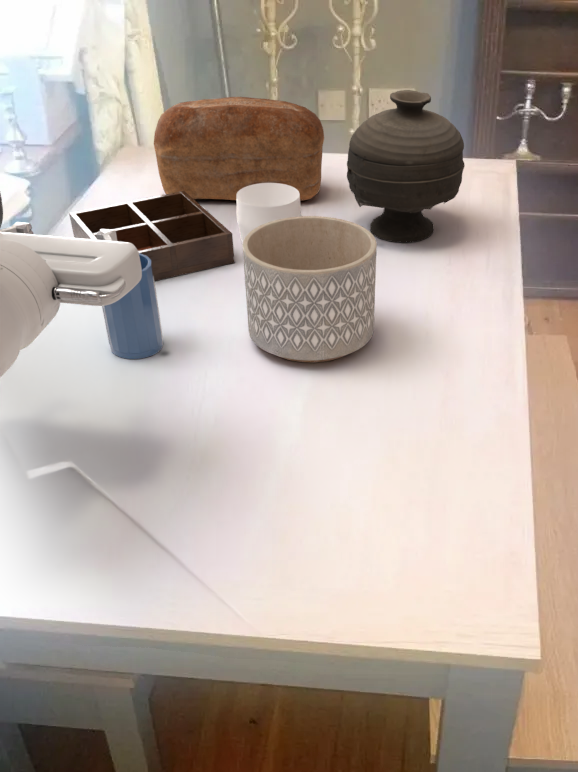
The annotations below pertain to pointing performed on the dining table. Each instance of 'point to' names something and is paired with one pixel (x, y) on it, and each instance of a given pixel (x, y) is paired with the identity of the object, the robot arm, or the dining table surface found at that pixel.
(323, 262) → the planter
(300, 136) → the bread
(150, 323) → the tumbler
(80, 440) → the dining table surface
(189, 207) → the cup rack
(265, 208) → the cup
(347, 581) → the dining table surface
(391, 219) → the pot
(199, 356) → the dining table surface
